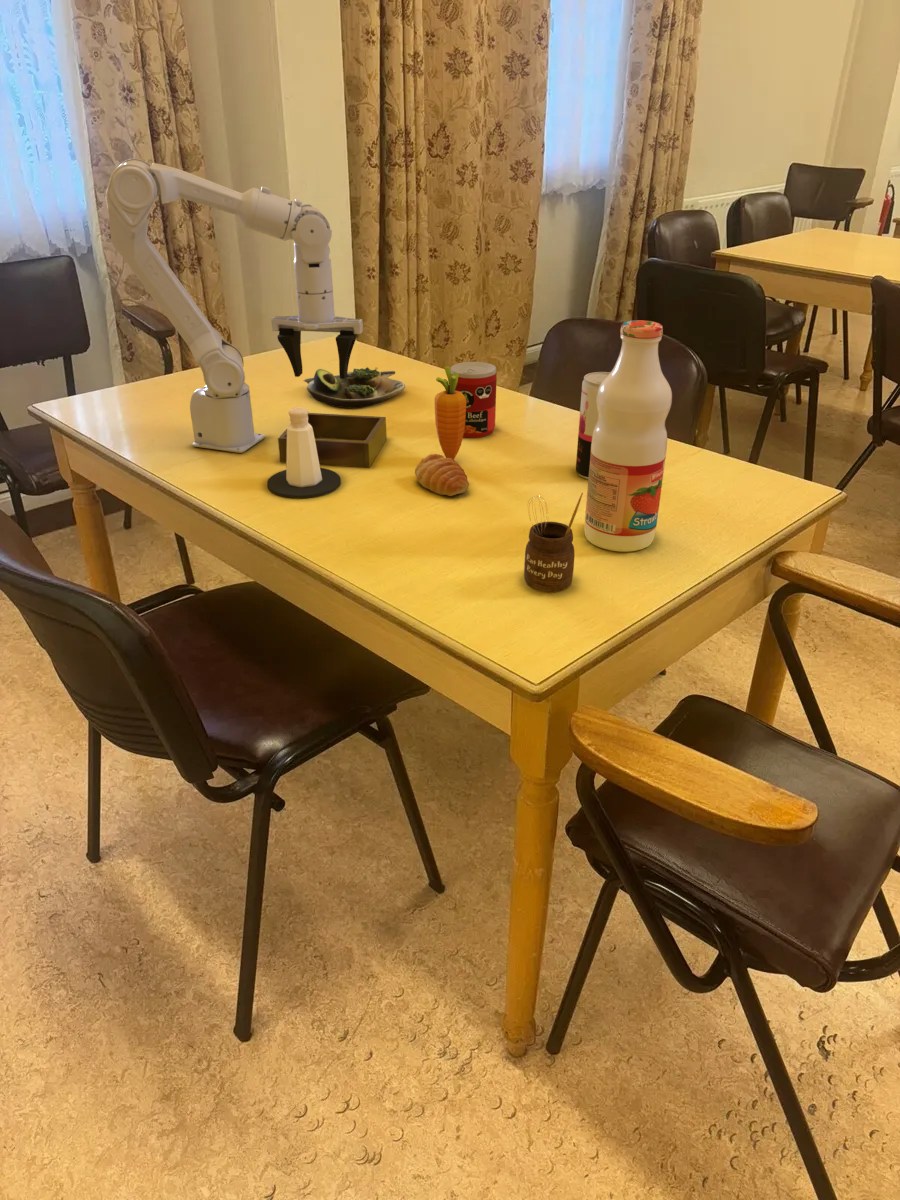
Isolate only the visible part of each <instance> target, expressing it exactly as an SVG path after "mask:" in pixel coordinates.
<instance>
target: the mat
mask: <svg viewBox="0 0 900 1200" xmlns="http://www.w3.org/2000/svg"><path fill="white" fill-rule="evenodd" d="M320 470H321V475H322V481H320V482H319V483H318V484H316V485H315V486H308V487H297V486H291V485H289V483H288V481H287V480H286V469H284V470H281V471H278V472H276V473H274V474H272V475H271V476H270V477H269V478H268V479H267V482H266V487H267V489H268V491H270V492H271V494H273V495H275V496H279V497H282V498H286V499H287V498H288V499H312V498H318V497H322V496H326V495H328V494H330V493H334V492H335V491H336V490H337V489H339V487H340V486H341V484H342V479H341V476H340V475H339V473H337V472H336V471H335V470H331V469H329V468H325V467H324V468H323V467H320Z"/></svg>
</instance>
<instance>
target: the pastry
mask: <svg viewBox="0 0 900 1200" xmlns="http://www.w3.org/2000/svg"><path fill="white" fill-rule="evenodd" d="M414 475H415V477H416V480H417V482H418V483H419V484H420V485H421V487H423V488H425V489H428V490H429V491H430V492H432V493H433V492H434V493H435V494H437V495H440V496H441V495H442V496H444V495H445V496H449V497H452V496H456V495H458V494H462V493H465V492H467V490H468V488H469V486H470V482H469V480H468V475H467V474H466V471H465V468H463V467H462V466H461V465H460V464H459V463H458V461H455V459H454V460H453V459H452V458H446V457H445V455H444V454H440V453H439V454H438V453H433V454H428V455H426V456H425V457H424V458H422V459H421V460H420V461H419V462H418V464H417V465H416V467H415V469H414Z"/></svg>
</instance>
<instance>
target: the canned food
mask: <svg viewBox="0 0 900 1200" xmlns="http://www.w3.org/2000/svg"><path fill="white" fill-rule="evenodd" d="M450 370H451V373H452V376H453V375H454V374H455V372H458V373H459V374H458V382H457V385H456V388H455V391H459V392H461V393H462V394H463V395H464V397H465V399H466V418H465V429H464V434H463V438H466V439H467V438H468V439H471V438H472V439H476V438H484V437H487V436H489V435H491V434H492V433H493V432H494V430H495V428H496V410H497V409H496V407H497V406H496V405H497V382H498V381H497V378H498V377H497V376H498V375H497V372H498V371H497V366H496V365H494V364H492V363H489V362H484V361H463V362H459V363H456V364H454V365H452V366H451V367H450Z"/></svg>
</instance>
